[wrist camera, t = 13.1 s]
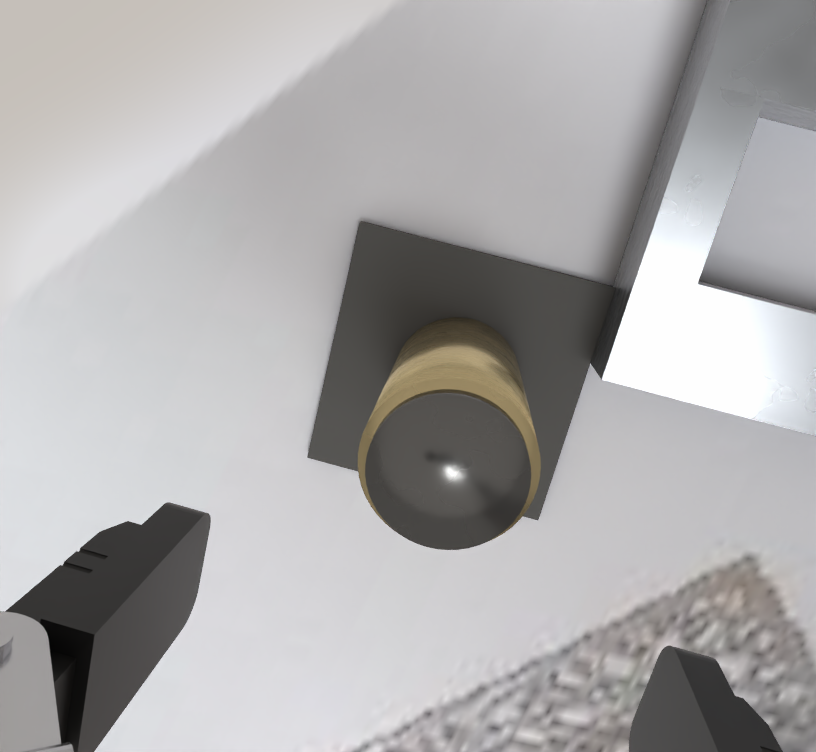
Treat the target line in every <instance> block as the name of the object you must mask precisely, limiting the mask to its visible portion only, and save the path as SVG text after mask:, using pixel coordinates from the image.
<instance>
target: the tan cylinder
mask: <svg viewBox="0 0 816 752" xmlns="http://www.w3.org/2000/svg"><path fill="white" fill-rule="evenodd" d="M540 471H541V460H540V452H539V447H538V442H537V438H536V434H535V430H534V426H533V422H532V418H531V414H530V410H529V406H528V402H527V398H526V394H525V390H524V386H523V381H522V377H521V373H520V369H519V365H518V362H517V359H516V356H515V354H514V352H513V350H512V348H511V346H510V345H509V343H508V342H507V341H506V340H505V339H504V337H503V336H502V335H501V334H499V333H498V332H497V331H496V330H495V329H493V328H492V327H490V326H488V325H486V324H484V323H482V322H480V321H477V320H474V319H469V318H461V317H452V318H444V319H440V320H437V321H434V322H431V323H429V324H427V325H425V326H423V327H422V328H420V329H419V330H417V331H416V332H415V333H414V334H413V335H412V336H411V337H410V338H409V339H408V340H407V342H406V343H405V344H404V346H403V348H402V349H401V351H400V353H399V356H398V358H397V360H396V362H395V364H394V366H393V369H392V371H391V373H390V375H389V377H388V379H387V382H386V384H385V386H384V388H383V390H382V392H381V395H380V397H379V399H378V401H377V403H376V406H375V408H374V410H373V412H372V414H371V416H370V419H369V421H368V423H367V425H366V427H365V429H364V432H363V434H362V437H361V441H360V444H359V451H358V472H359V478H360V482H361V486H362V489H363V491H364V494H365V496H366V498H367V500H368V502H369V503H370V505H371V507H372V508H373V510H374V511H375V512H376V514H377V515H378V516H379V517H380V518H381V519H382V520H383V521H384V522H385V523H386V524H387V525H388V526H389V527H391V528H392V529H393V530H394V531H396V532H397V533H399V534H400V535H402V536H403V537H405V538H407V539H408V540H411V541H413V542H415V543H417V544H420V545H423V546H426V547H430V548H435V549H444V550H458V549H465V548H470V547H474V546H477V545H480V544H483V543H485V542H488V541H490V540H492V539H495V538H496V537H498V536H500V535H501V534H503V533H505V532H506V531H507V530H509V529H510V528H511V527H513V526H514V525H515V524H516V523H517V522H518V521H519V520H520V519H521V517H522V516H523V515H524V513H525V512H526V511H527V509H528V508H529V506H530V504H531V502H532V501H533V499H534V496H535V494H536V491H537V488H538V484H539V480H540Z"/></svg>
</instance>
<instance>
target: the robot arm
mask: <svg viewBox="0 0 816 752" xmlns="http://www.w3.org/2000/svg"><path fill="white" fill-rule="evenodd" d="M209 530H210V515H209V514H208V513H205V512H201V511H198V510H194V509H190V508H187V507H183V506H180V505H176V504H173V503H165V504H164V505H163V506H162V507H161V508H160V509H159V510H157V511H156V512H155V513H154V514H153V515H152V516H151V517H150V518H149V519H148V520H147V521H146V522H144V523H143V524H142V525H139V524H136V523H132V522H129V521H127V522H124V523H122V524H119V525H117V526H114V527H111V528H109V529H106V530H103V531H101V532H99V533H98V534H97V535H95V536H94V537H93V538H92V539H91V540H90V541H88V542H87V543H86V544H85V545H84V546H82V547H81V548H80V551H79V552H77V551H76V552H75V553H74V554H73V555H72V556H71V557H69V558H68V559H67V560H66V561H65V562H64V564H63V566H61V565H60V566H59V567H57V568H56V569H55V570H54V571H53V572H52V573H50V574H49V575H48V576H47V577H46V578H44V579H43V580H42V581H41V582H40V583H39V584H37V585H36V586H35V587H34V588H33V589H31V590H30V591H29V592H28V593H27V594H25V595H24V596H23V597H22V598H21V599H20V600H18V601H17V602H16V603H15V604H14V605H12V606H11V607H10V608H9V609H8V610H6V611H5V612H1V611H0V752H94V751H95V750H96V748H97V747H98V745H99V744H100V743H101V741H102V740H103V739H104V737H105V736H106V734H107V733H108V732H109V730H110V729H111V727H112V726H113V725H114V723H115V722H116V720H117V719H118V718H119V716H120V715H121V714H122V712H123V711H124V709H125V708H126V707H127V705H128V704H129V702H130V701H131V700H132V698H133V697H134V695H135V694H136V693H137V691H138V690H139V688H140V687H141V686H142V684H143V683H144V682H145V680H146V679H147V677H148V676H149V675H150V673H151V672H152V670H153V669H154V668H155V666H156V665H157V663H158V662H159V661H160V659H161V658H162V657H163V655H164V654H165V652H166V651H167V650H168V648H169V647H170V645H171V644H172V643H173V641H174V640H175V638H176V637H177V636H178V634H179V633H180V632H181V630H182V629H183V627H184V625H185V624H186V622H187V620H188V618H189V616H190V614H191V611H192V609H193V606H194V603H195V600H196V597H197V593H198V588H199V583H200V577H201V572H202V567H203V561H204V556H205V551H206V545H207V540H208V535H209ZM629 752H783V751H782V750H781V748H780V746H779V744H778V742H777V740H776V739H775V737H774V735H773V733H772V731H771V729H770V727H769V726H768V724H767V723H766V722H765V721H764V720H763V719H762V718H761V717H760V716H759V715H758V714H757V713H756V712H755V711H754V710H753V708H752V707H751V706H750V705H749V704H748V703H747V702H746V701H745V700H744V699H743V698H740V697H736V696H735V695H734V694H733V692H732V690H731V688H730V686H729V684H728V682H727V680H726V678H725V676H724V674H723V672H722V670H721V668H720V666H719V664H718V662H717V661H716V660H715V659H714V658H711V657H708V656H704V655H701V654H697V653H694V652H690V651H687V650H683V649H680V648H676V647H672V646H667V647H665V648H664V649H663V650H662V652H661V653H660V655H659V657H658V659H657V662H656V664H655V667H654V669H653V672H652V674H651V677H650V679H649V682H648V684H647V687H646V689H645V692H644V694H643V697H642V699H641V702H640V704H639V707H638V709H637V712H636V714H635V716H634V719H633V722H632V726H631V731H630V739H629Z"/></svg>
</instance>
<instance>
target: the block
mask: <svg viewBox="0 0 816 752" xmlns="http://www.w3.org/2000/svg"><path fill="white" fill-rule="evenodd" d="M758 117H762V118H766V119H770V120H774V121H778V122H782V123H786V124H790V125H794V126H798V127H802V128H806V129H810V130H814V131H816V0H708V1H707V4H706V7H705V10H704V13H703V16H702V19H701V22H700V25H699V28H698V31H697V34H696V37H695V40H694V43H693V46H692V49H691V52H690V55H689V58H688V61H687V64H686V67H685V70H684V73H683V77H682V80H681V83H680V86H679V89H678V92H677V95H676V98H675V101H674V104H673V107H672V110H671V113H670V116H669V119H668V122H667V125H666V128H665V131H664V134H663V137H662V140H661V143H660V146H659V149H658V152H657V155H656V158H655V161H654V164H653V167H652V170H651V173H650V176H649V179H648V182H647V185H646V189H645V192H644V195H643V198H642V201H641V204H640V207H639V210H638V213H637V216H636V219H635V222H634V225H633V228H632V231H631V234H630V237H629V240H628V243H627V246H626V249H625V252H624V255H623V258H622V261H621V264H620V267H619V270H618V273H617V276H616V279H615V282H614V285H613V287H614V288H615V290H614V293H613V296H612V299H611V302H610V305H609V308H608V311H607V314H606V317H605V320H604V323H603V326H602V329H601V332H600V335H599V338H598V341H597V344H596V347H595V350H594V353H593V356H592V359H591V362H590V363H591V364H592V366H593V367H594V369H595V370H596V372H597V373H598V375H599V376H600V378H601V379H602V380H605V381H609V382H612V383H616V384H620V385H624V386H628V387H631V388H635V389H639V390H643V391H646V392H650V393H654V394H658V395H662V396H665V397H669V398H673V399H677V400H681V401H684V402H688V403H692V404H696V405H699V406H703V407H707V408H711V409H715V410H718V411H722V412H726V413H730V414H733V415H737V416H741V417H745V418H749V419H752V420H756V421H760V422H764V423H768V424H771V425H775V426H779V427H783V428H786V429H790V430H794V431H798V432H802V433H805V434H809V435H813V436H816V311H813V310H809V309H805V308H801V307H797V306H793V305H790V304H786V303H782V302H778V301H774V300H770V299H766V298H762V297H759V296H755V295H751V294H747V293H743V292H739V291H735V290H731V289H728V288H724V287H720V286H716V285H712V284H708V283H704V282H700V281H699V278H700V276H701V273H702V270H703V267H704V265H705V262H706V259H707V256H708V254H709V251H710V248H711V245H712V243H713V240H714V237H715V234H716V232H717V229H718V226H719V223H720V221H721V218H722V215H723V212H724V210H725V207H726V204H727V201H728V199H729V196H730V193H731V190H732V188H733V185H734V182H735V179H736V177H737V174H738V171H739V168H740V166H741V163H742V160H743V157H744V155H745V152H746V149H747V146H748V144H749V141H750V138H751V135H752V133H753V130H754V127H755V124H756V122H757V119H758Z"/></svg>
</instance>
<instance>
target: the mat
mask: <svg viewBox="0 0 816 752" xmlns="http://www.w3.org/2000/svg"><path fill="white" fill-rule="evenodd" d="M614 290H615V288H614V287H613V286H609V285H605V284H601V283H597V282H593V281H589V280H586V279H582V278H578V277H574V276H570V275H566V274H563V273H559V272H555V271H551V270H547V269H543V268H539V267H536V266H532V265H528V264H524V263H520V262H516V261H512V260H509V259H505V258H501V257H497V256H493V255H489V254H486V253H482V252H478V251H474V250H470V249H466V248H462V247H459V246H455V245H451V244H447V243H443V242H439V241H435V240H432V239H428V238H424V237H420V236H416V235H412V234H408V233H405V232H401V231H397V230H393V229H389V228H385V227H382V226H378V225H374V224H370V223H366V222H362V221H361V222H360V223H359V227H358V232H357V236H356V241H355V245H354V250H353V254H352V259H351V263H350V268H349V272H348V277H347V281H346V286H345V290H344V295H343V299H342V304H341V308H340V313H339V317H338V322H337V326H336V331H335V335H334V340H333V344H332V349H331V353H330V358H329V362H328V367H327V371H326V376H325V380H324V385H323V389H322V394H321V398H320V403H319V407H318V412H317V416H316V421H315V425H314V430H313V434H312V439H311V443H310V448H309V452H308V457H307V458H311V459H315V460H318V461H322V462H326V463H329V464H333V465H337V466H340V467H344V468H348V469H351V470H355V471H358V451H359V444H360V441H361V437H362V434H363V432H364V429H365V427H366V425H367V423H368V421H369V419H370V416H371V414H372V412H373V410H374V408H375V406H376V403H377V401H378V399H379V397H380V395H381V392H382V390H383V388H384V386H385V384H386V382H387V379H388V377H389V375H390V373H391V371H392V369H393V366H394V364H395V362H396V360H397V358H398V356H399V353H400V351H401V349H402V348H403V346H404V344H405V343H406V342H407V340H408V339H409V338H410V337H411V336H412V335H413V334H414V333H415V332H416V331H417V330H419V329H420V328H422V327H423V326H425V325H427V324H429V323H431V322H434V321H437V320H440V319H444V318H452V317H461V318H469V319H474V320H477V321H480V322H482V323H484V324H486V325H488V326H490V327H492V328H493V329H495V330H496V331H497V332H498V333H499V334H501V335H502V336H503V337H504V339H505V340H506V341H507V342H508V343H509V345H510V346H511V348H512V350H513V352H514V354H515V356H516V359H517V362H518V365H519V369H520V373H521V377H522V381H523V386H524V390H525V394H526V398H527V402H528V406H529V410H530V414H531V418H532V422H533V426H534V430H535V434H536V438H537V442H538V447H539V452H540V460H541V471H540V480H539V484H538V488H537V491H536V494H535V496H534V499H533V501H532V502H531V504H530V506H529V508H528V509H527V511H526V512H525V513H524V515H523V516H524V517H528V518H532V519H535V520H538V519H539V516H540V513H541V510H542V507H543V504H544V501H545V498H546V495H547V492H548V489H549V486H550V483H551V480H552V477H553V474H554V471H555V468H556V465H557V462H558V459H559V456H560V453H561V450H562V447H563V444H564V441H565V438H566V435H567V432H568V429H569V426H570V422H571V419H572V416H573V413H574V410H575V407H576V404H577V401H578V398H579V395H580V392H581V389H582V386H583V383H584V380H585V377H586V374H587V371H588V368H589V365H590V362H591V359H592V356H593V353H594V350H595V347H596V344H597V341H598V338H599V335H600V332H601V329H602V326H603V323H604V320H605V317H606V314H607V311H608V308H609V305H610V302H611V299H612V296H613V293H614Z"/></svg>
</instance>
